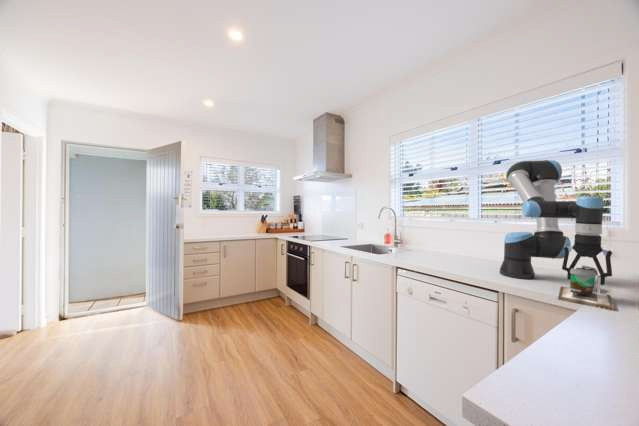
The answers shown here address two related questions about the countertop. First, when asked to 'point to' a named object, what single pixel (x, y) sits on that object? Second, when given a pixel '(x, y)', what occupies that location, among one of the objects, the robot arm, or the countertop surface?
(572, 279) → the food container
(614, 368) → the countertop surface
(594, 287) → the button housing
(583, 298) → the drawing board
